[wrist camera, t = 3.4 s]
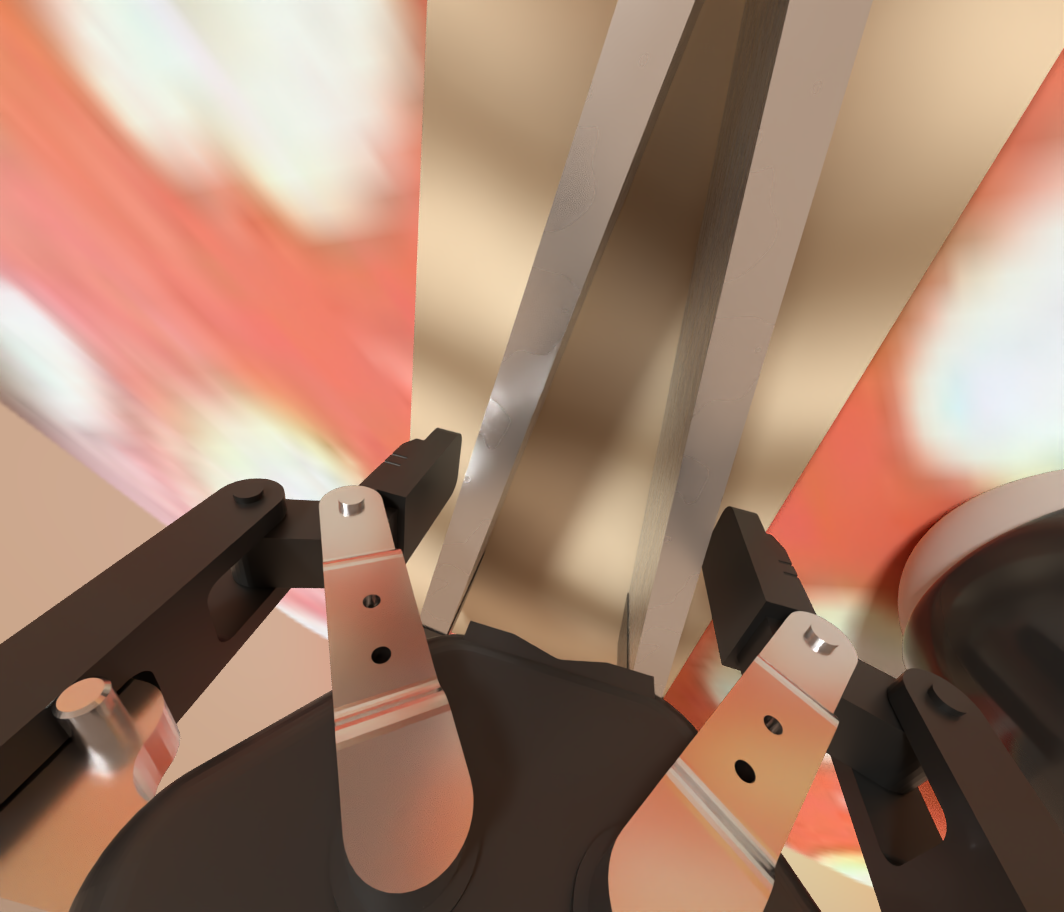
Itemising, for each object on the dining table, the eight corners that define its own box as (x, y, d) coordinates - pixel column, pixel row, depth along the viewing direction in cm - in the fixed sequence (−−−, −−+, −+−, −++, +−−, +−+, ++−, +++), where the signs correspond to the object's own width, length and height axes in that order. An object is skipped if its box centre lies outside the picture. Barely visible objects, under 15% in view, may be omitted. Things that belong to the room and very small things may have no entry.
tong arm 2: (749, -37, 8) (841, -239, 5) (811, -41, 8) (956, -255, 4) (617, 643, 18) (614, 746, 14) (644, 648, 18) (647, 753, 14)
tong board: (467, -239, 9) (249, -862, 4) (1135, -157, 8) (2094, -884, 3) (416, 594, 22) (352, 704, 17) (661, 669, 21) (671, 810, 16)
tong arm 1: (671, -62, 8) (703, -282, 5) (724, -41, 8) (795, -245, 5) (443, 588, 18) (399, 673, 15) (466, 597, 18) (428, 685, 15)
